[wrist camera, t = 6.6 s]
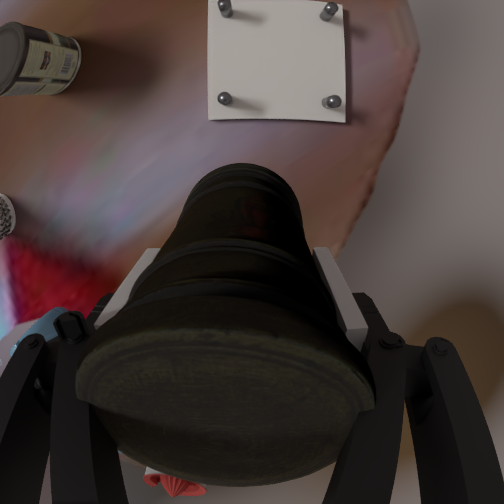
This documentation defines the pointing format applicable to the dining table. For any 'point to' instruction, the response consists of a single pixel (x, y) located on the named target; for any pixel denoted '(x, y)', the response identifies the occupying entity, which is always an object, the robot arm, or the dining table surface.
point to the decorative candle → (6, 216)
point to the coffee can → (36, 60)
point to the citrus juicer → (174, 484)
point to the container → (229, 346)
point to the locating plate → (276, 60)
